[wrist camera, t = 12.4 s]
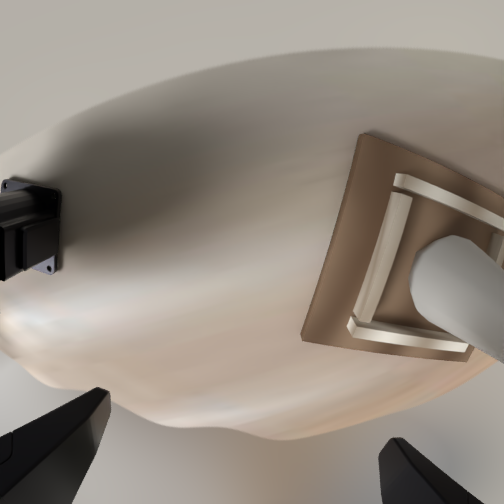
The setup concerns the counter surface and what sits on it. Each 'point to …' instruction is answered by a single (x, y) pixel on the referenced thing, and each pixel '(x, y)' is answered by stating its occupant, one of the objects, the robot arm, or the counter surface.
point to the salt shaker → (461, 292)
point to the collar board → (396, 251)
